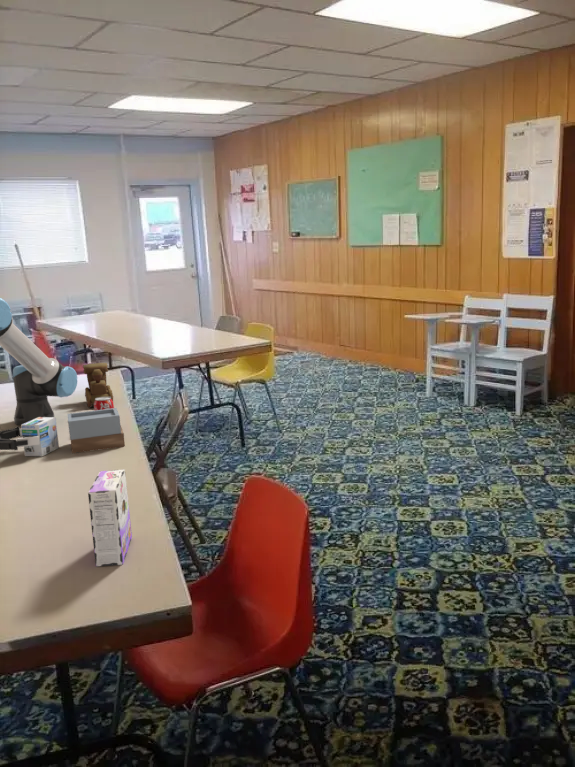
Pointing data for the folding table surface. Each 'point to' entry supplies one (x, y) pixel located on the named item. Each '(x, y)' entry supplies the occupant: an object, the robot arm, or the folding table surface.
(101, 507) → the candy box
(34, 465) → the folding table surface
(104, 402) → the soda can
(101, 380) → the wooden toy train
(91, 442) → the tower base block
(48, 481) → the folding table surface
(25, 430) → the light bulb box
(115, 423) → the tower top block
